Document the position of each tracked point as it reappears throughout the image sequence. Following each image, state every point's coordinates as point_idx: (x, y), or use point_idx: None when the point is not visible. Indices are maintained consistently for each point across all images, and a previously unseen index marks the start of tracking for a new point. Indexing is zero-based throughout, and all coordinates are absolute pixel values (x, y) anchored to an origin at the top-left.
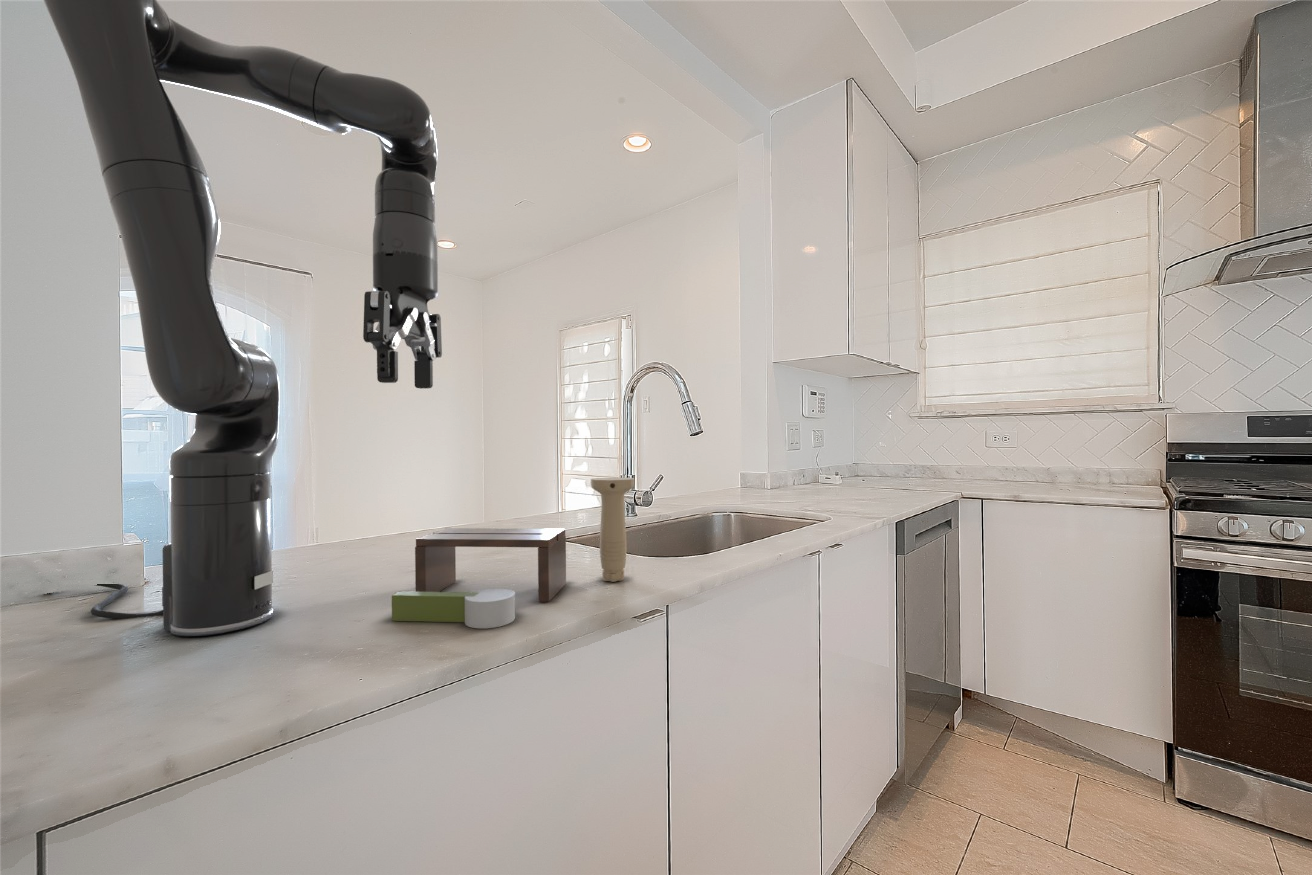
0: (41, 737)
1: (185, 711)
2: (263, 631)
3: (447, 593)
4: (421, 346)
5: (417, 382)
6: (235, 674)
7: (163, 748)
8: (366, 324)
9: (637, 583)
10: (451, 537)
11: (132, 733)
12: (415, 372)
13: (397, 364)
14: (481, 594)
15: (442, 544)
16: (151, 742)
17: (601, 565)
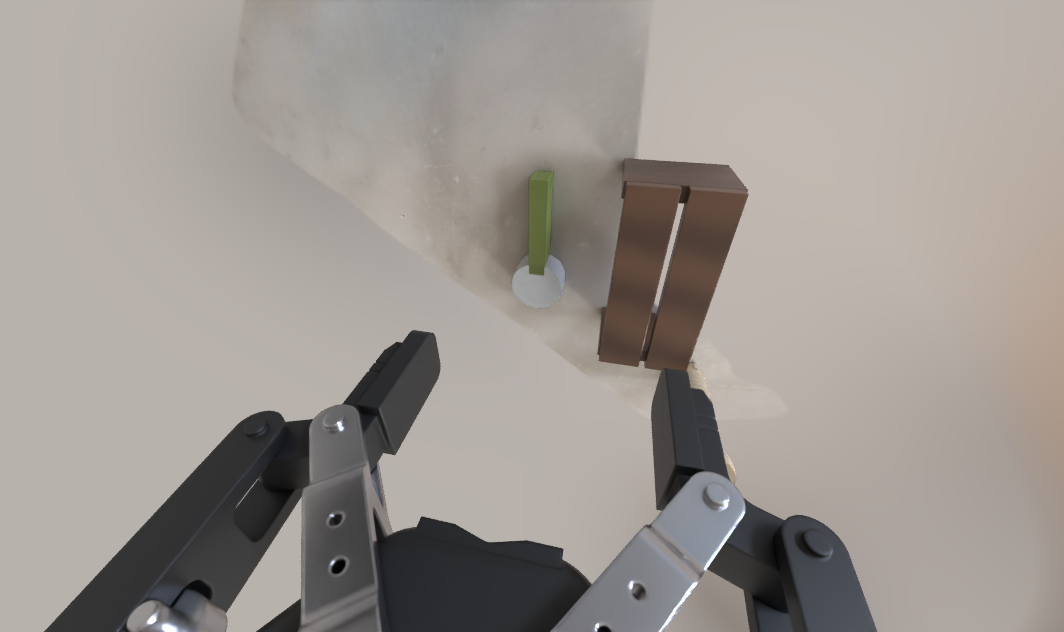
0: (257, 22)
1: (323, 110)
2: (486, 5)
3: (539, 243)
4: (790, 587)
5: (663, 387)
6: (380, 92)
7: (291, 143)
8: (199, 482)
9: None
10: (632, 240)
11: (291, 99)
12: (667, 416)
13: (413, 416)
14: (536, 279)
15: (619, 227)
16: (291, 127)
17: (688, 372)
